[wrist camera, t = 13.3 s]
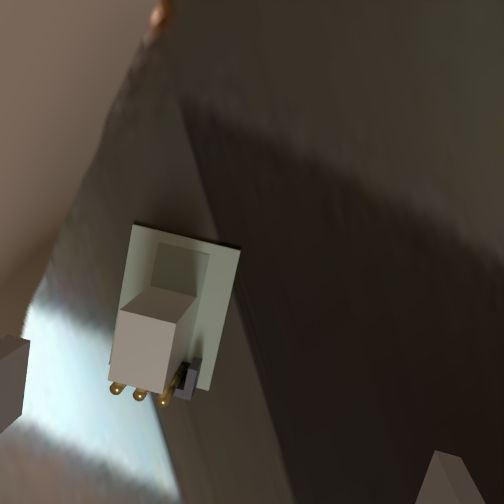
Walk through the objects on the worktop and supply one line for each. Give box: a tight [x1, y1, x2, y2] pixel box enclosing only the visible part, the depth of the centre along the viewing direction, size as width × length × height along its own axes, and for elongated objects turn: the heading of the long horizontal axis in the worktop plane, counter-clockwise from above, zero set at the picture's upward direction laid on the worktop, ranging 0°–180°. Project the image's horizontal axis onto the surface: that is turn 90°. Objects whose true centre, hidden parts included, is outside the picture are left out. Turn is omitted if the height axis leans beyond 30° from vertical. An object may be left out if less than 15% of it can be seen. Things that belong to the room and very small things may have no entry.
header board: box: [109, 224, 241, 400], centre depth 39 cm, size 14×10×3 cm
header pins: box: [110, 361, 191, 407], centre depth 38 cm, size 2×6×6 cm, turn 77°
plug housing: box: [108, 286, 197, 394], centre depth 37 cm, size 6×4×7 cm
